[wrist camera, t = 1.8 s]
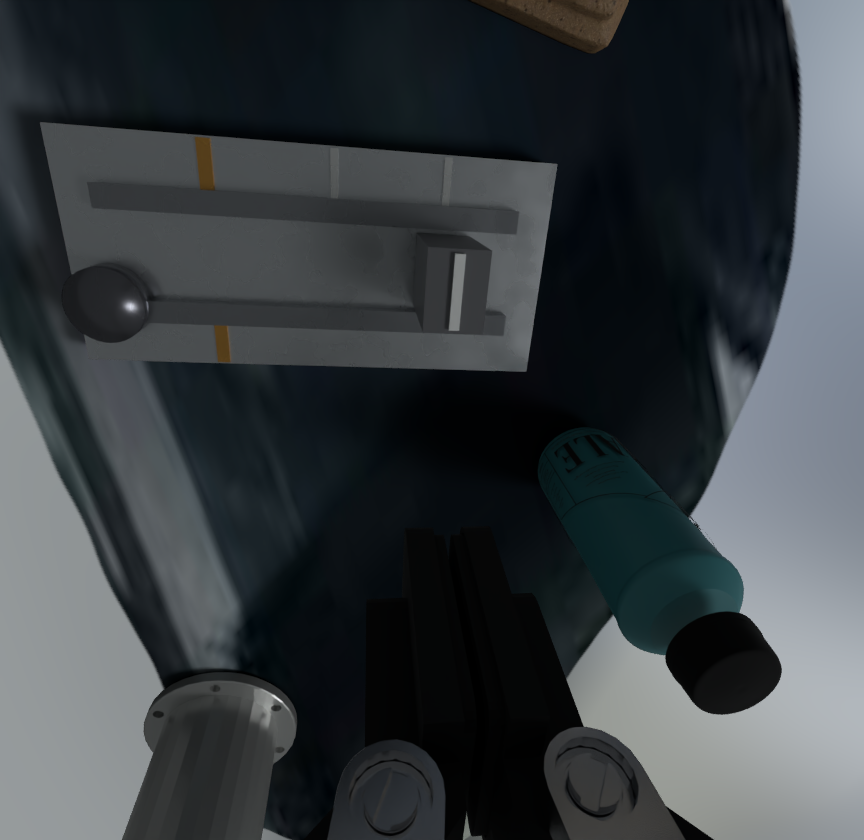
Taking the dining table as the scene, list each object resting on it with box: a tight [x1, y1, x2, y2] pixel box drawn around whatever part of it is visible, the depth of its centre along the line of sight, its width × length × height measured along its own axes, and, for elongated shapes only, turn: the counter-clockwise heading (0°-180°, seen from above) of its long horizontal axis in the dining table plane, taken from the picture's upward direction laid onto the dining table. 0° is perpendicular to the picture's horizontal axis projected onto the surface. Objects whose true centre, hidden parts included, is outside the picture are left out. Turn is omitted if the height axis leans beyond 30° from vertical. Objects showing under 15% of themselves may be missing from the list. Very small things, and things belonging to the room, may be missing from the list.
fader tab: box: [413, 233, 492, 335], centre depth 28 cm, size 4×3×6 cm
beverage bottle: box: [537, 427, 782, 715], centre depth 31 cm, size 6×7×20 cm
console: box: [40, 122, 557, 372], centre depth 30 cm, size 12×26×4 cm, turn 86°
